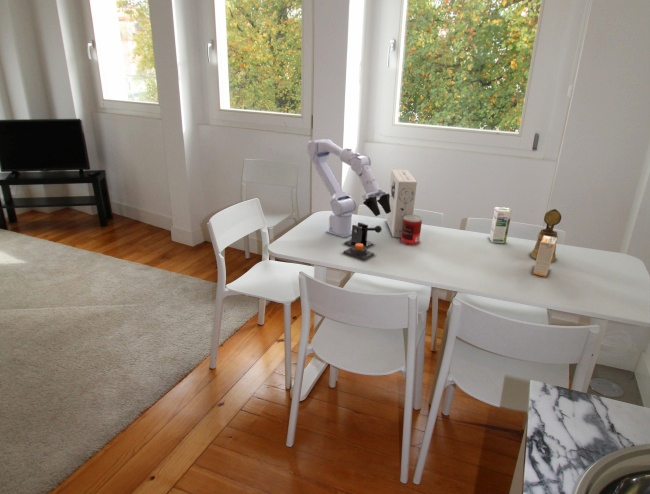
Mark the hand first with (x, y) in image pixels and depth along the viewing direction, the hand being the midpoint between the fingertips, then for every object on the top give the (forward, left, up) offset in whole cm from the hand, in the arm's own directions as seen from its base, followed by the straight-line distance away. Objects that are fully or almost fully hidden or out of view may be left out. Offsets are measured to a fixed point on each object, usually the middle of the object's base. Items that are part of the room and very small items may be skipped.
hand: (383, 214), depth 185 cm
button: (-3, -11, -12) cm, 17 cm away
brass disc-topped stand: (+52, +41, -15) cm, 68 cm away
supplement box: (+56, +24, -15) cm, 63 cm away
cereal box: (-7, +26, -15) cm, 31 cm away
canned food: (+5, +16, -15) cm, 22 cm away
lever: (-4, -2, -8) cm, 10 cm away
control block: (-3, -11, -15) cm, 19 cm away
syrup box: (+32, +43, -15) cm, 56 cm away
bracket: (-9, -3, -15) cm, 18 cm away
